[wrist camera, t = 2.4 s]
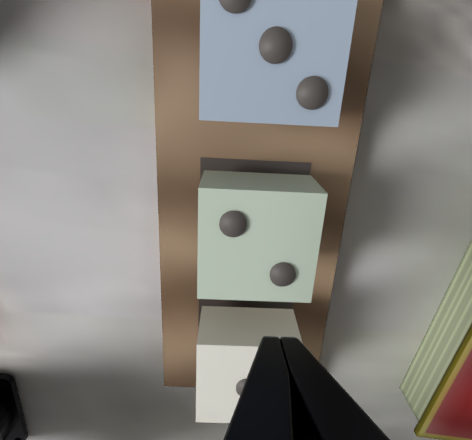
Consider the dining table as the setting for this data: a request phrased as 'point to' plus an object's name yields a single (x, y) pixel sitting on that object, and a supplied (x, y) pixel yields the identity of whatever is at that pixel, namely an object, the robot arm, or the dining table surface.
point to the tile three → (274, 60)
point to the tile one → (232, 354)
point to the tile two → (258, 236)
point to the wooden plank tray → (241, 160)
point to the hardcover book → (445, 365)
